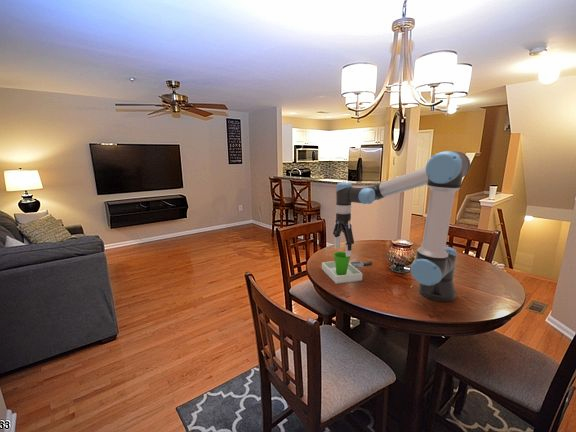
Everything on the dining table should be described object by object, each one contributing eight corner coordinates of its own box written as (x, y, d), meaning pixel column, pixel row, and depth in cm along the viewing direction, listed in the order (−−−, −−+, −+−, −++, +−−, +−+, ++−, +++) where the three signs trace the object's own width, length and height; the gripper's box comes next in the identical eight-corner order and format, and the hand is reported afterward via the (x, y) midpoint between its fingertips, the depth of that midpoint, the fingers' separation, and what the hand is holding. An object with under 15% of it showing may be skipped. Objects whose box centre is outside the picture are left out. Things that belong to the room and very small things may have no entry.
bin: (362, 280, 146) (362, 273, 145) (335, 284, 142) (336, 276, 142) (345, 266, 165) (345, 260, 164) (321, 269, 161) (321, 262, 160)
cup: (345, 278, 147) (346, 258, 145) (329, 274, 152) (330, 255, 150) (352, 273, 154) (353, 254, 151) (337, 269, 159) (338, 250, 157)
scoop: (369, 263, 170) (369, 259, 170) (373, 266, 166) (374, 262, 165) (350, 265, 167) (350, 261, 167) (354, 268, 162) (354, 264, 162)
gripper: (362, 216, 135) (360, 259, 139) (339, 208, 159) (339, 244, 163) (347, 217, 133) (346, 260, 138) (327, 209, 157) (327, 246, 161)
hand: (342, 252), depth 150 cm, fingers open, 13 cm apart
